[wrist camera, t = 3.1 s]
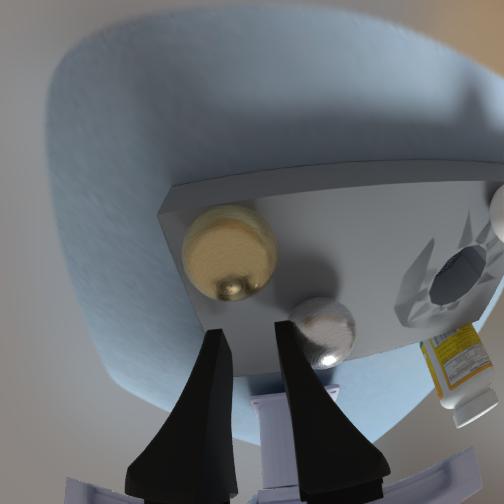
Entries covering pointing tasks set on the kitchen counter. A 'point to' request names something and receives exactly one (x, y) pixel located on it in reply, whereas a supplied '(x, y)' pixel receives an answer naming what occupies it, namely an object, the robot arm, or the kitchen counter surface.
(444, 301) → the plate
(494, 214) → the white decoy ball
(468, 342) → the supplement bottle
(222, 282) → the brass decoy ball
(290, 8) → the kitchen counter surface
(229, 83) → the kitchen counter surface
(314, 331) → the steel ball
